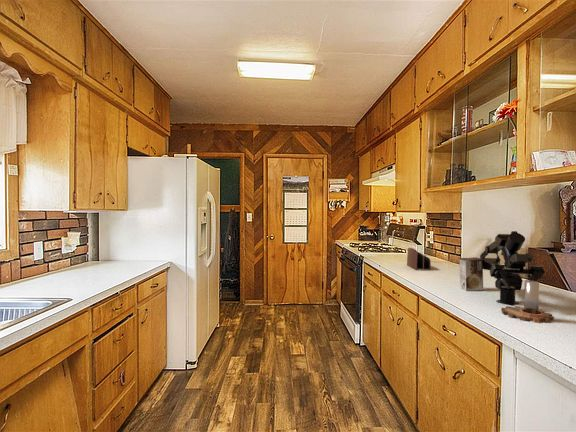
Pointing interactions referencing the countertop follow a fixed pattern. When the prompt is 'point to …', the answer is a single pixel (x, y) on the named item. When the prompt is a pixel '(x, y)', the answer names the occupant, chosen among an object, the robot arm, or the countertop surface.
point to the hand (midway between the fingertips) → (522, 289)
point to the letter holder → (418, 260)
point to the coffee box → (471, 274)
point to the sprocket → (526, 314)
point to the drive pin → (531, 297)
